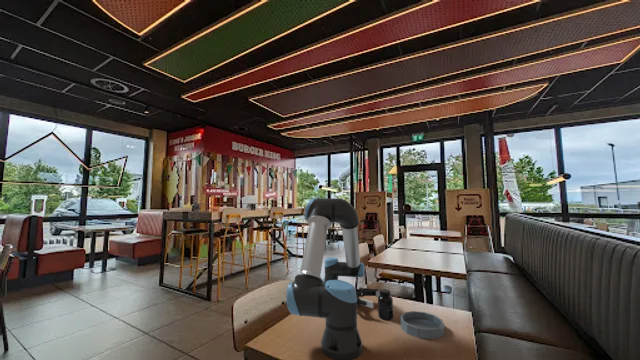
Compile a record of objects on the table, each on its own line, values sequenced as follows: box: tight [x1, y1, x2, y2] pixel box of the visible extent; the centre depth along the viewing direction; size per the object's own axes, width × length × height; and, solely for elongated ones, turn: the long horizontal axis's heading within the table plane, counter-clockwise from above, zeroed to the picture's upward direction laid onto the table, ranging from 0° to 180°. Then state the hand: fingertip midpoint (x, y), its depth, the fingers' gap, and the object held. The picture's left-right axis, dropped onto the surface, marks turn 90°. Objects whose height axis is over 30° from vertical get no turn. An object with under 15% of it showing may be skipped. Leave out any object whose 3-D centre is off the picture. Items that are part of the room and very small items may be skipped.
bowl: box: [400, 310, 445, 340], centre depth 112 cm, size 17×17×4 cm
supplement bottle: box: [377, 288, 394, 321], centre depth 123 cm, size 7×7×12 cm
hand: (380, 301), depth 126 cm, fingers open, 13 cm apart
